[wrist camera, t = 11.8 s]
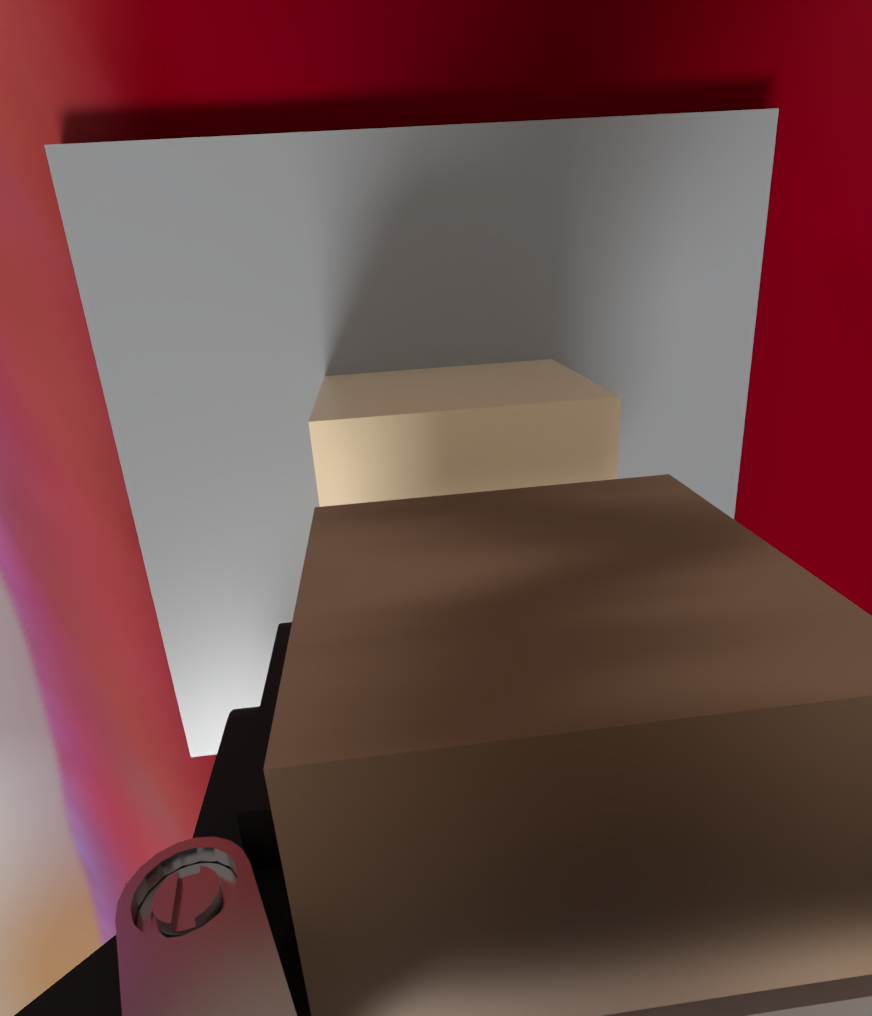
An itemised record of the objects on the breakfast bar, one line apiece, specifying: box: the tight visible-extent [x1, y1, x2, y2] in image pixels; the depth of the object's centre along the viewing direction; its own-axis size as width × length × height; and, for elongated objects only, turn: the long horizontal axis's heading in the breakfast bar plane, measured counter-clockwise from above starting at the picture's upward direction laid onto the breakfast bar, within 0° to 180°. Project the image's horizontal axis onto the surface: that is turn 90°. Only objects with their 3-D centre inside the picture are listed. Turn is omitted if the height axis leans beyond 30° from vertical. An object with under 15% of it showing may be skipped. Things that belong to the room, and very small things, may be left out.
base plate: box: [44, 108, 779, 757], centre depth 19 cm, size 20×20×7 cm
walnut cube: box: [263, 474, 872, 1016], centre depth 9 cm, size 6×6×6 cm
